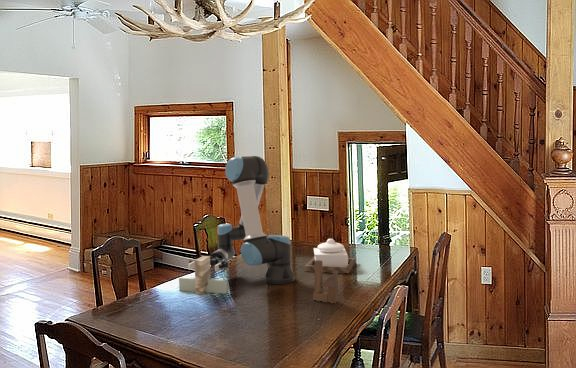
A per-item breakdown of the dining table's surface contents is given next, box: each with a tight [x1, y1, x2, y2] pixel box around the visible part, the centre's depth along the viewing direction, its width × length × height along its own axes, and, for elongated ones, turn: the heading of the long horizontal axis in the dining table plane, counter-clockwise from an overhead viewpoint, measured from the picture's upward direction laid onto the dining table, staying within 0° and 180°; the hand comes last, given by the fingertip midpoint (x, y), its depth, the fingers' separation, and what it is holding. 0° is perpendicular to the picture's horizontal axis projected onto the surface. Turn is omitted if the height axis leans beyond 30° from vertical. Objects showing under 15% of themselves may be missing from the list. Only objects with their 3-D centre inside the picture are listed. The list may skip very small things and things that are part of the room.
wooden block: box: [312, 260, 339, 304], centre depth 260 cm, size 4×11×18 cm, turn 61°
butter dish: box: [313, 238, 349, 267], centre depth 323 cm, size 18×18×16 cm
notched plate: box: [194, 255, 212, 295], centre depth 279 cm, size 4×10×16 cm, turn 165°
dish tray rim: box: [304, 255, 357, 274], centre depth 324 cm, size 24×24×3 cm
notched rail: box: [178, 276, 229, 294], centre depth 279 cm, size 24×2×6 cm, turn 75°
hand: (202, 267), depth 278 cm, fingers open, 13 cm apart
